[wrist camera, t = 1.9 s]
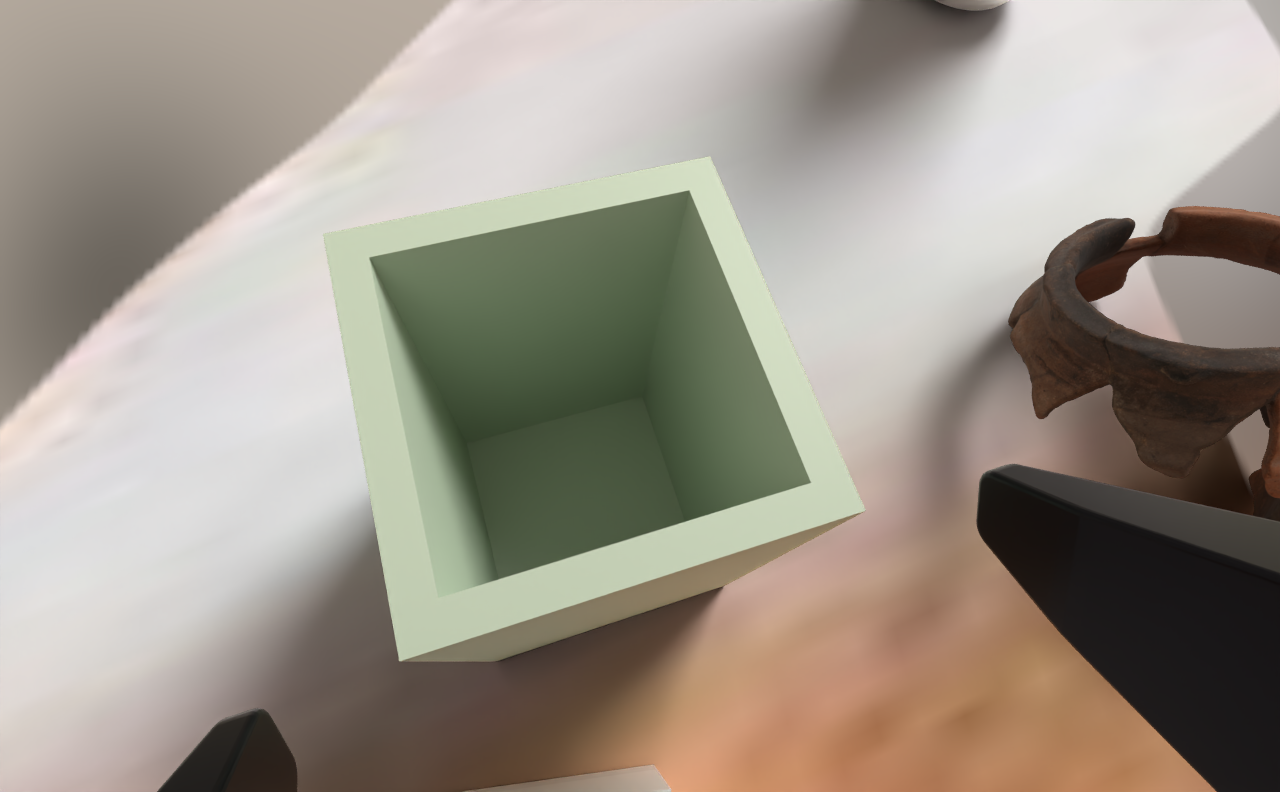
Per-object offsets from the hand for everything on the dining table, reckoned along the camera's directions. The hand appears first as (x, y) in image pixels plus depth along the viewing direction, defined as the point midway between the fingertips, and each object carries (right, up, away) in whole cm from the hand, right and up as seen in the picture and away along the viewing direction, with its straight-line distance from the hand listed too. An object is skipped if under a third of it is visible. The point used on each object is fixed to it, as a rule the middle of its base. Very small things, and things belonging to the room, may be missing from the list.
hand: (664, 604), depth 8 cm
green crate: (-2, -1, +11) cm, 11 cm away
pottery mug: (+16, +2, +14) cm, 22 cm away
